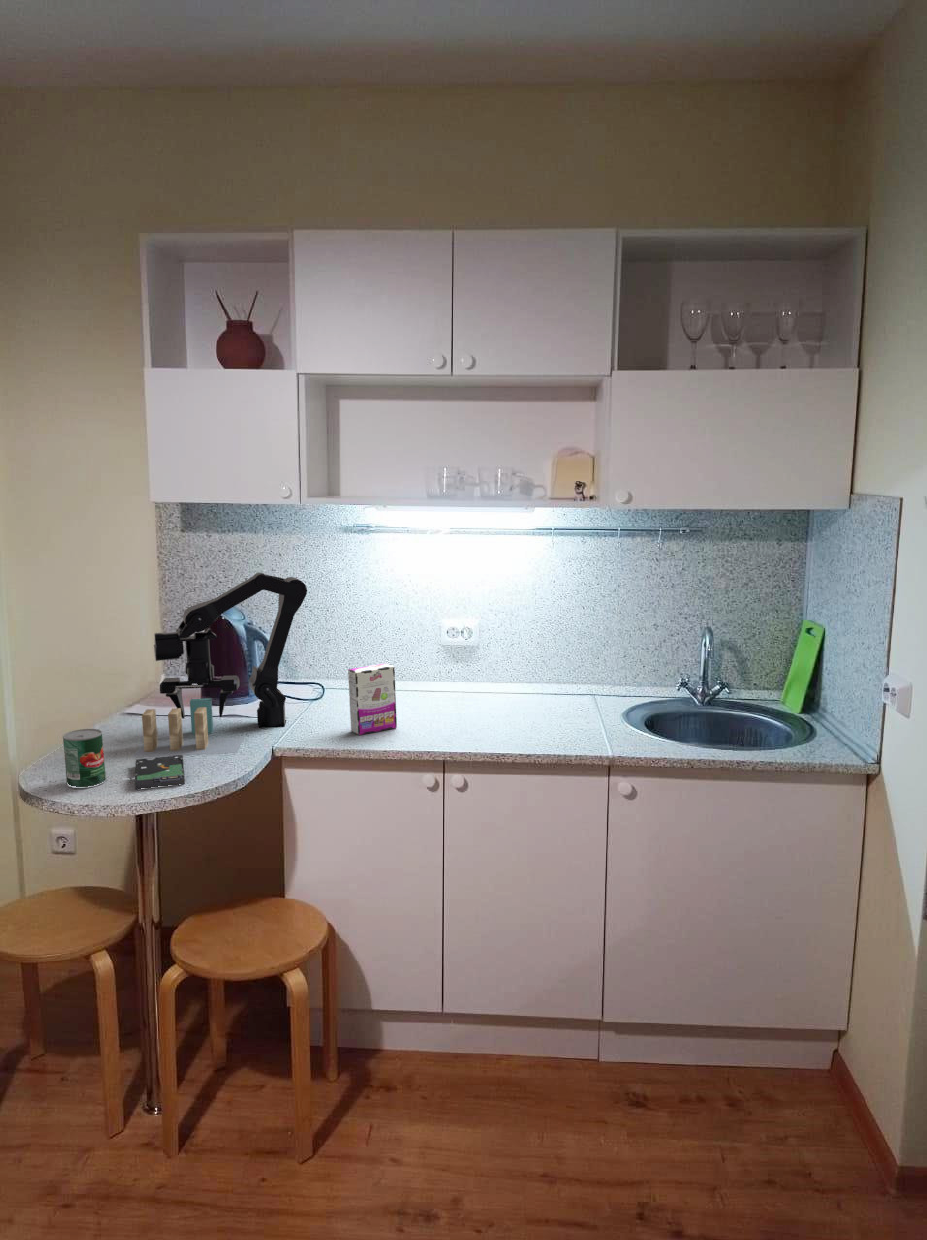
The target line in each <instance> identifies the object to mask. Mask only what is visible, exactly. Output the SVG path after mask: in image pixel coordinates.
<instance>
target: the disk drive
mask: <svg viewBox="0 0 927 1240" xmlns="http://www.w3.org/2000/svg"><path fill="white" fill-rule="evenodd" d="M184 767H185V766H184V755H174V756H155V758H154V759H147V758H138V759H135V768H134V769H135V770H134V772H135V773H134V787H135V788H134V789H141V788H151V787H158V786H168V785H178V786H180V785H179V784H186V775H185V768H184ZM151 789H152V788H151Z"/></svg>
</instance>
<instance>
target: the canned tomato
mask: <svg viewBox="0 0 927 1240" xmlns="http://www.w3.org/2000/svg"><path fill="white" fill-rule="evenodd" d="M62 739H63V740H62V742H63V752H64V764H65V766H64V767H65V777H66V784H67V783H68V784H69V785H71V786H76V787H88V786H94V785H97V784H100V783H102V782H104V781H105V780H106V781H107V778H106V767H105V766H106V765H105V756H104V755H105V754H104V743H103V731H102V730H101V729H98V728H80V729H75V730H70V731H68V732H66V733H64V734H62ZM106 781H105V782H106ZM105 782H104V783H105Z"/></svg>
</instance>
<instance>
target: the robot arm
mask: <svg viewBox="0 0 927 1240" xmlns="http://www.w3.org/2000/svg"><path fill="white" fill-rule="evenodd" d="M262 591H267V592H271V593H275V594H278V603H277V604H278V606H277V607H278V609H277V613H276V617H275V619H274V623H273V626H272V629H271V632H270V635H269V638H268V643H267V645H266V649H265V652H264V655H263V658H262V661H261V662H260V665H258V667H257V666H255V665H253V666H252V668H251V675H250V676H249V678H248V682H249V688H250V690H251V691H252V693H253V695H254V696H255V697H256V698H257V699H258V700H260V701H259V703H258V707H257V710H256V716H257V718H256V719H257V726H258V728H259V729H268V728H269V729H270V728H271V729H272V728H273V729H274V728H285V727H286V723H287V719H286V706H285V703H286V699H287V698H286V696H285V695H284V693H283V692H281V690H280V689H279V688H278V682H279V665H280V662H281V659H282V655H283V653H284V650H285V646H286V644H287V643H286V642H287V640H288V636H289V632H290V630H291V626H292V624H293V620H294V618H295V615H296V614H297V612H298V610H299V609H300V608H301V606H302V605H303V603H304V601H305V599H306V596H307V594H308V588H307V586H306V584H305V583H304V582H303V581H302V580H301V579H298V578H297V577H295V576H289V577H286V578H283V577H279V576H273V575H269V574H265V573H263V572H257V573H254V574H253V576H251V577H250V578H247V579H246V580H244V581H242V582H241V583H239V584H237V585H236V586H233V587H231V589H228V590H227V591H224V592H223V593H221V594H220V595H218V596H217V597H215V598H212V599H210V600H206V601H202V602H200V603H196V604H194V605H191V606H189V607H187V608H186V609H185V610H184V612H183V614H182V621H181V623H180V624H179V626H178V627H177V629H176V630H175V631H174V632H164V633H163V632H155V633H154V635H153V637H154V644H153V650H154V651H153V652H154V653H153V654H154V659H155V661H156V662H159V661H170V660H173V661H174V660H180V657H182V656H183V655H184V654H185V653H186V655H185V657H186V662H185V675H187V680H181V679H180V678H181V677H165V678H164V679H162V681H161V682H160V683H159V693H160V694H163V695H165V697H168V698H170V699H171V701H172V702H173V705H175V707H176V708H181V717H182V719H183V720H184V719H185V717H186V716H185V713H186V711H185V707H184V700H183V689H205V688H206V689H209V688H211V689H213V688H214V689H215V688H220V691H219V700H218V703H219V704H218V715H219V718H222V717H223V714H224V709H225V706H226V703H227V699H228V697H229V695H232V694H233V693H234V692H236V691H238V689H239V687H240V677H239V675H237V674H236V675H223V676H221V678H220V679H215V665H213V664H212V661H211V651H210V648H211V647H210V640H216V639H217V638H218V636H217V634H216V633H214V632H213V631H212V630H211V628H208V627H210V626H211V625H212V624H213V623H215V622H216V621H217V620H218V618H219V617H220V616H221V615H223V614H224V613H225V612H227V611H229V610H230V609H232V608H234V607H236V606H237V605H239V604H241V603H242V602H245V601H246V600H248V599H249V598H251V597H253V596H254V595H256V594H258V593H259V592H262ZM184 642H185V651H184ZM184 652H185V653H184Z"/></svg>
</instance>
